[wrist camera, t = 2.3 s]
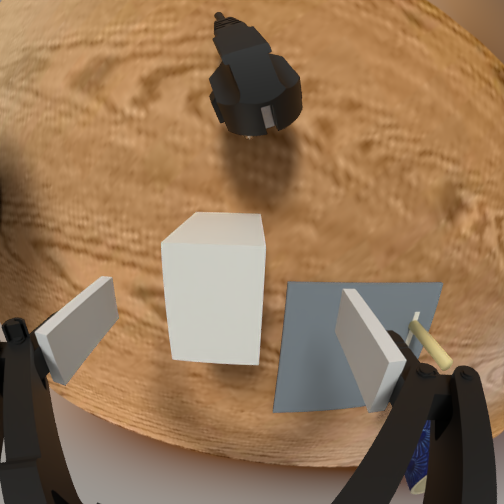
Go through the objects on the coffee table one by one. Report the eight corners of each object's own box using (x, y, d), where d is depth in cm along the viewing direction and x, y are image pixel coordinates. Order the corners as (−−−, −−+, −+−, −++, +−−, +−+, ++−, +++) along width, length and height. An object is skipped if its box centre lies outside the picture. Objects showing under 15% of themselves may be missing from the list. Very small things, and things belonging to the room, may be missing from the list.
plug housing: (197, 293, 24) (172, 359, 15) (196, 212, 22) (160, 242, 13) (257, 296, 24) (259, 365, 15) (261, 213, 22) (267, 246, 13)
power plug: (249, -2, 15) (312, 55, 11) (266, 64, 22) (317, 147, 18) (182, 19, 16) (200, 87, 11) (209, 82, 23) (239, 173, 18)
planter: (429, 438, 33) (451, 482, 22) (374, 447, 32) (393, 502, 21) (470, 387, 29) (503, 432, 19) (417, 392, 28) (451, 452, 18)
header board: (272, 410, 28) (276, 462, 21) (287, 281, 23) (301, 329, 16) (398, 398, 28) (419, 439, 21) (441, 282, 23) (484, 316, 16)
